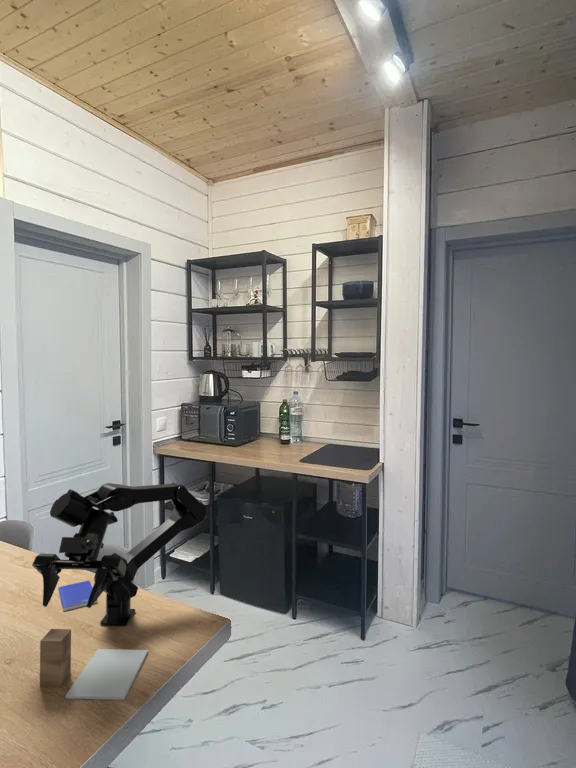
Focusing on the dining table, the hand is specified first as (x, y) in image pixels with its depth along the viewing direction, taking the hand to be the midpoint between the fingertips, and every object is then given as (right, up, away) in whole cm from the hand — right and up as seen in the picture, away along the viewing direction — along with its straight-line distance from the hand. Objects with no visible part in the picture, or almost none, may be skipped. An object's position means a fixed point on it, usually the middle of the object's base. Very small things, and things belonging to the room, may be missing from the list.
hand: (66, 606), depth 91 cm
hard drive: (-11, -12, +28) cm, 32 cm away
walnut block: (0, -12, -4) cm, 13 cm away
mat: (+10, -13, -2) cm, 16 cm away
